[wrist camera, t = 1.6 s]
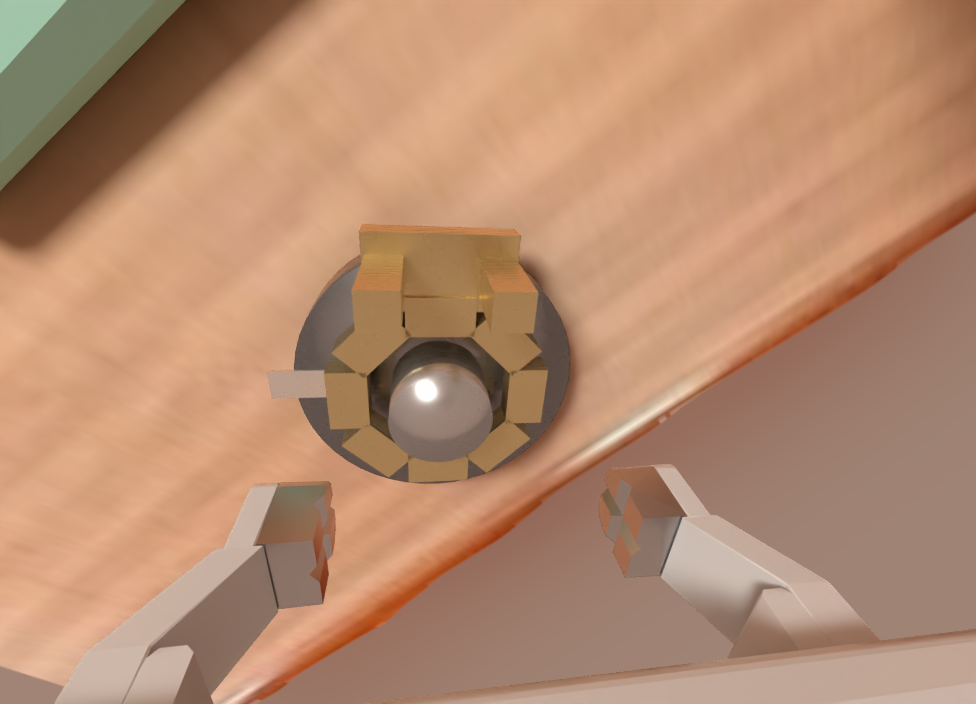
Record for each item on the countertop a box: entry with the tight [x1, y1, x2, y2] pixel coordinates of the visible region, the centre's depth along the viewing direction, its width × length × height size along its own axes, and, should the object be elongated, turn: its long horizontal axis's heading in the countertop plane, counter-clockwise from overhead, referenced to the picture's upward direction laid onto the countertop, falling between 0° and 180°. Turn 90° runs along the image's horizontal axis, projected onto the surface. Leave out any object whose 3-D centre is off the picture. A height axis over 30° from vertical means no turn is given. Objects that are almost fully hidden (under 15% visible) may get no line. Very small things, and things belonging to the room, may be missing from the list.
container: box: [0, 0, 186, 191], centre depth 20 cm, size 6×6×25 cm
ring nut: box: [324, 224, 548, 483], centre depth 26 cm, size 17×13×7 cm
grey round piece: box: [267, 254, 570, 483], centre depth 29 cm, size 18×18×8 cm
